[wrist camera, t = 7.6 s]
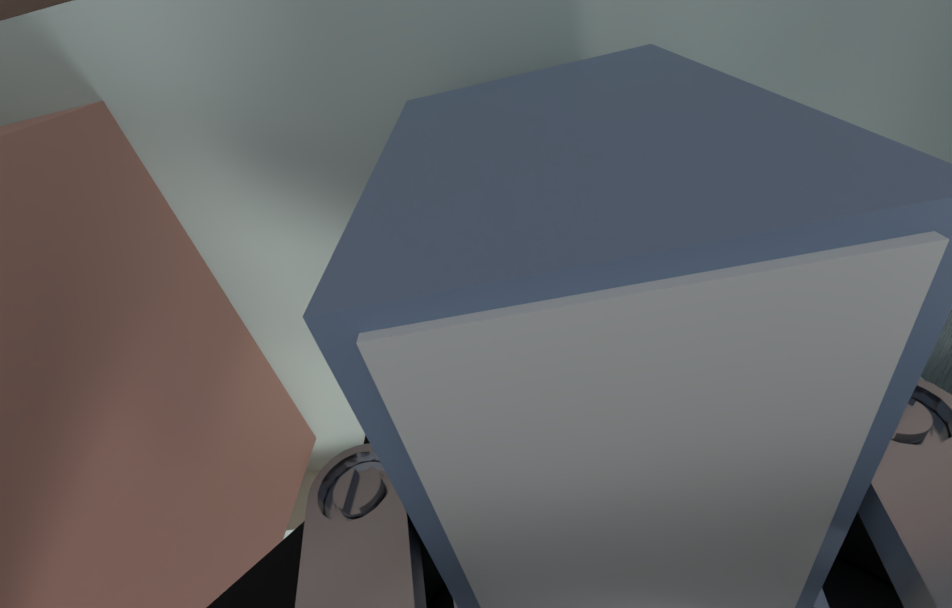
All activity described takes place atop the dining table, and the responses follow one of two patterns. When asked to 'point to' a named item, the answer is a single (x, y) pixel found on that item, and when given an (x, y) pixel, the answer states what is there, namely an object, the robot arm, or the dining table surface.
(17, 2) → the dining table surface
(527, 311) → the book
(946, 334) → the bookend
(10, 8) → the dining table surface
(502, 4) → the mint u-shaped tray
